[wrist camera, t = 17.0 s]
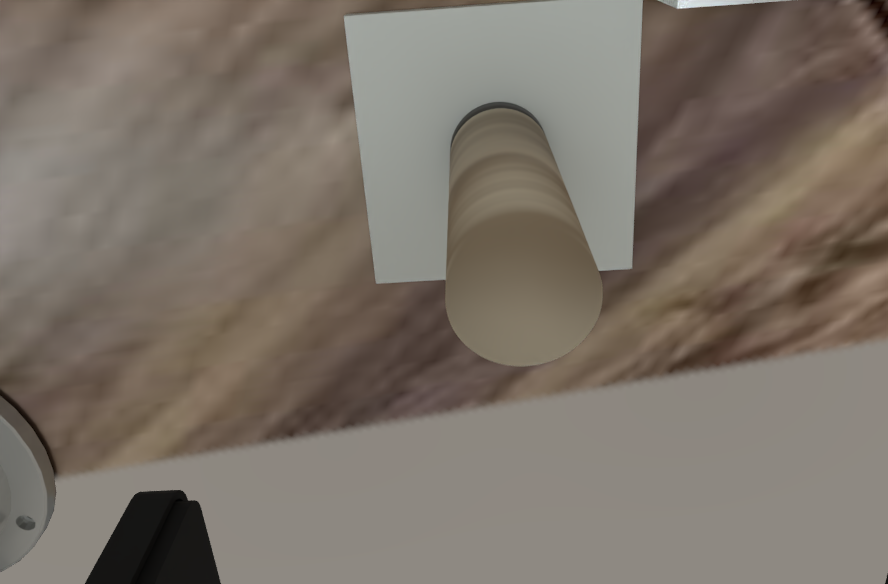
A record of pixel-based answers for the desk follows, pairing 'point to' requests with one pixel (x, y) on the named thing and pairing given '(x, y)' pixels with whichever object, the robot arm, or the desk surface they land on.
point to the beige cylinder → (515, 243)
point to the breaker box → (710, 2)
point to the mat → (485, 81)
